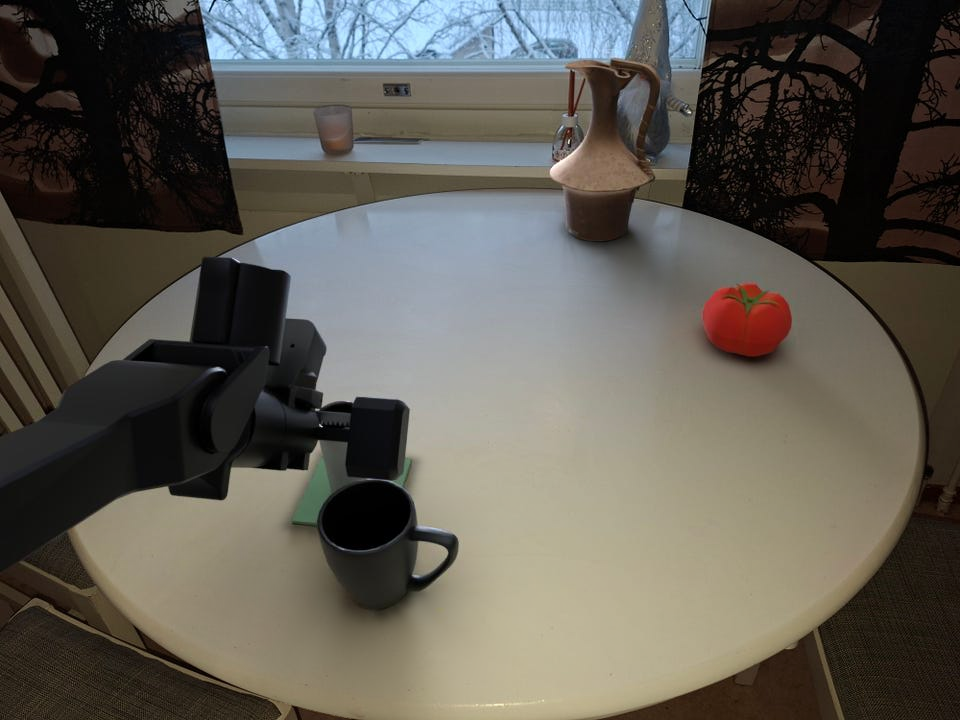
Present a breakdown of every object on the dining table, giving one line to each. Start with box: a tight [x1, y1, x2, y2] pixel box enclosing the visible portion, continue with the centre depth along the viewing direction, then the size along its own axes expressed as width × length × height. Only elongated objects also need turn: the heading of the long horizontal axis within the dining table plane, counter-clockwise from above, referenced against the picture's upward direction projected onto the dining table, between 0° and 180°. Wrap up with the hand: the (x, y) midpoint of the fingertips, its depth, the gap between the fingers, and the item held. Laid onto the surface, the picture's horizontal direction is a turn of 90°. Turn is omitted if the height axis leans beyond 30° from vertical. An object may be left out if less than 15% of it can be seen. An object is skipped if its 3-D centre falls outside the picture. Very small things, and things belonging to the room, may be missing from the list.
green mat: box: [291, 455, 413, 527], centre depth 71 cm, size 10×10×1 cm
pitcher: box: [549, 57, 661, 242], centre depth 111 cm, size 18×17×28 cm
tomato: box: [701, 282, 793, 357], centre depth 88 cm, size 11×11×8 cm
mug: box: [316, 479, 460, 611], centre depth 59 cm, size 8×12×10 cm
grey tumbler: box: [318, 400, 367, 494], centre depth 68 cm, size 4×4×10 cm
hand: (325, 435), depth 62 cm, fingers open, 9 cm apart
